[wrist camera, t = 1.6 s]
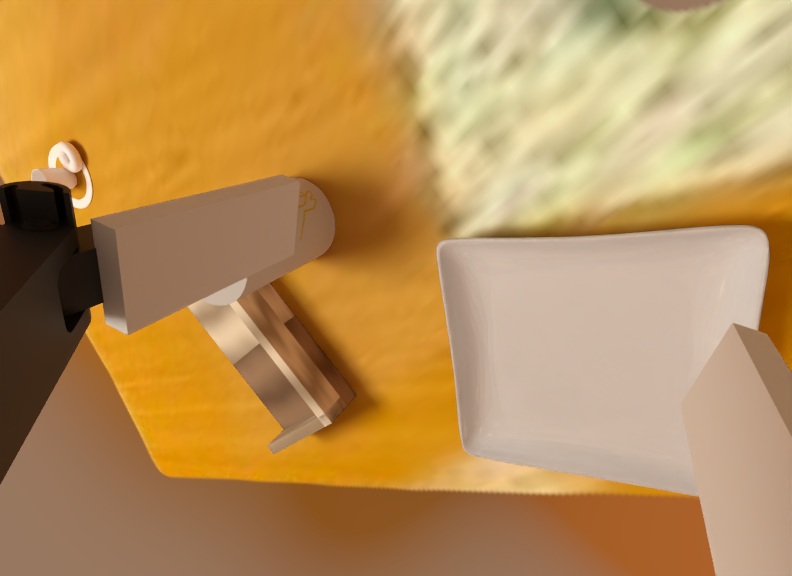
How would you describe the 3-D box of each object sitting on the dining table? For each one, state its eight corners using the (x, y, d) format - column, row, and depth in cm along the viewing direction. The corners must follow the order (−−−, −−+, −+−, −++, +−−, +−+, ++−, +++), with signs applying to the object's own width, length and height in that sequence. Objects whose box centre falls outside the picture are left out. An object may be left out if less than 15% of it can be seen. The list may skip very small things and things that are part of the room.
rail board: (178, 271, 54) (141, 286, 50) (220, 220, 48) (183, 231, 44) (299, 427, 55) (273, 454, 51) (356, 395, 49) (331, 423, 45)
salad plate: (731, 475, 35) (741, 508, 32) (471, 435, 45) (461, 458, 42) (760, 211, 28) (776, 223, 26) (446, 229, 38) (431, 240, 35)
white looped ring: (76, 131, 53) (39, 133, 50) (109, 194, 55) (75, 201, 51) (44, 157, 57) (8, 160, 54) (75, 215, 59) (42, 222, 56)
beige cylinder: (346, 204, 41) (258, 239, 31) (320, 273, 45) (235, 324, 35) (277, 161, 42) (171, 181, 32) (258, 232, 46) (159, 269, 36)
